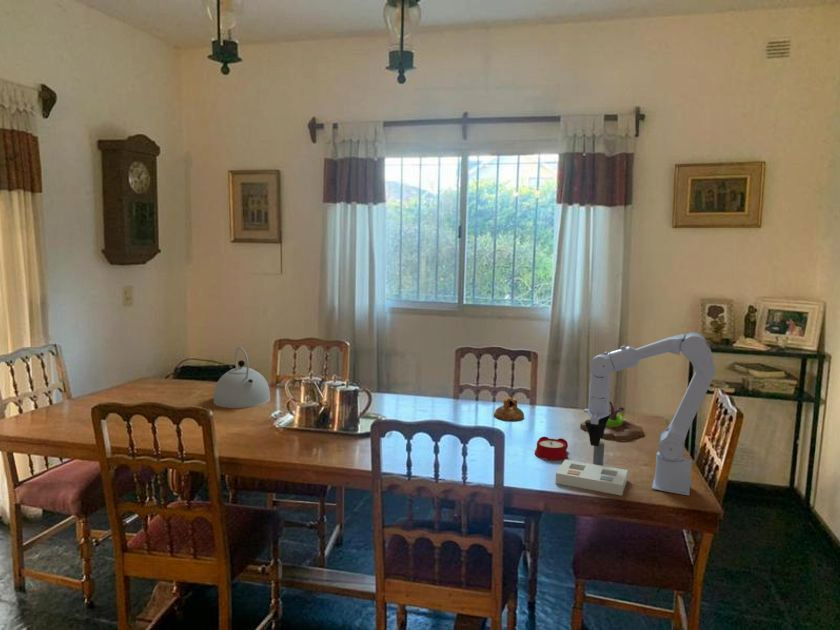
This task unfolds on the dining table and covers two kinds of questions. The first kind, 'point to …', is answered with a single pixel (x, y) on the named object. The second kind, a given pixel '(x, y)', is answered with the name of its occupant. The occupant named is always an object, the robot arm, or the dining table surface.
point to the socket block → (592, 477)
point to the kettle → (241, 387)
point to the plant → (618, 426)
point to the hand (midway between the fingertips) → (596, 441)
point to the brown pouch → (509, 411)
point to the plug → (598, 454)
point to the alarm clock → (551, 448)
